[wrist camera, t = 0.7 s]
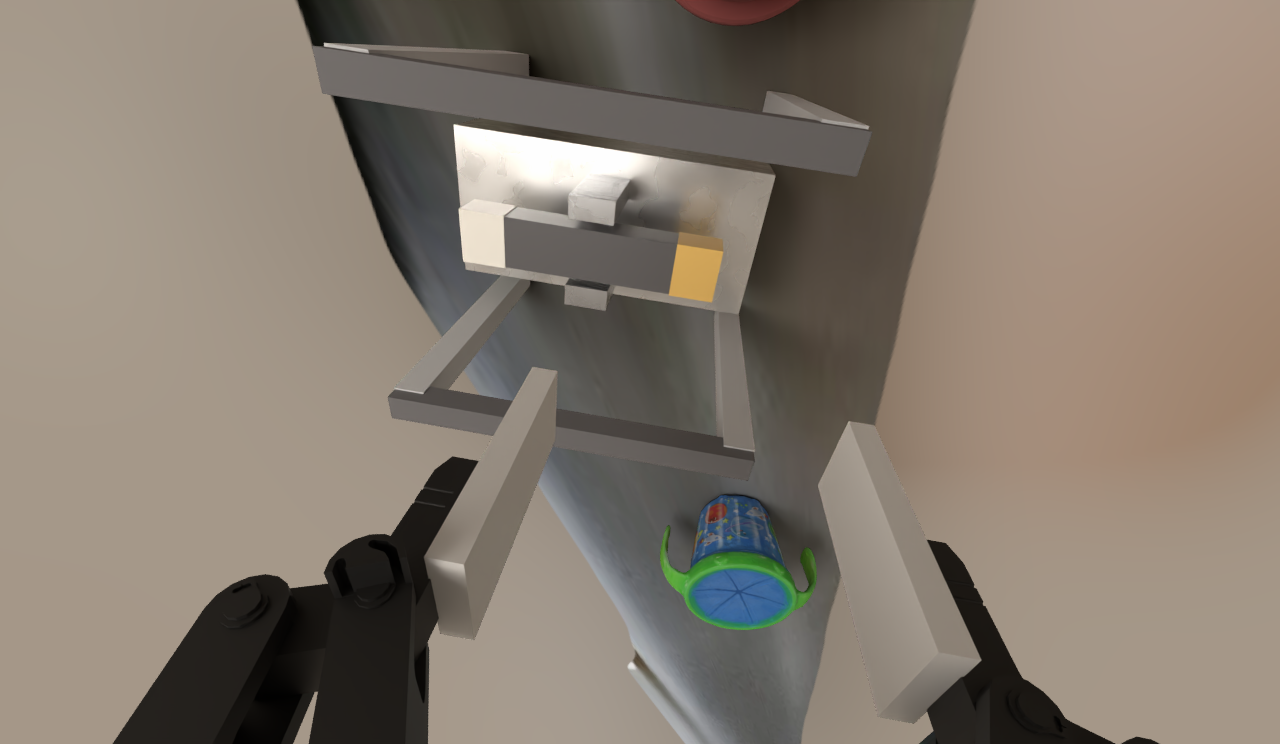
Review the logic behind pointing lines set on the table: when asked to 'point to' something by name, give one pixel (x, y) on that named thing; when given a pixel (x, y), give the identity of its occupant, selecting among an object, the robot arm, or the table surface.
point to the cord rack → (422, 395)
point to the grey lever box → (618, 197)
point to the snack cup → (738, 568)
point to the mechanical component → (736, 10)
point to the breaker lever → (590, 250)
